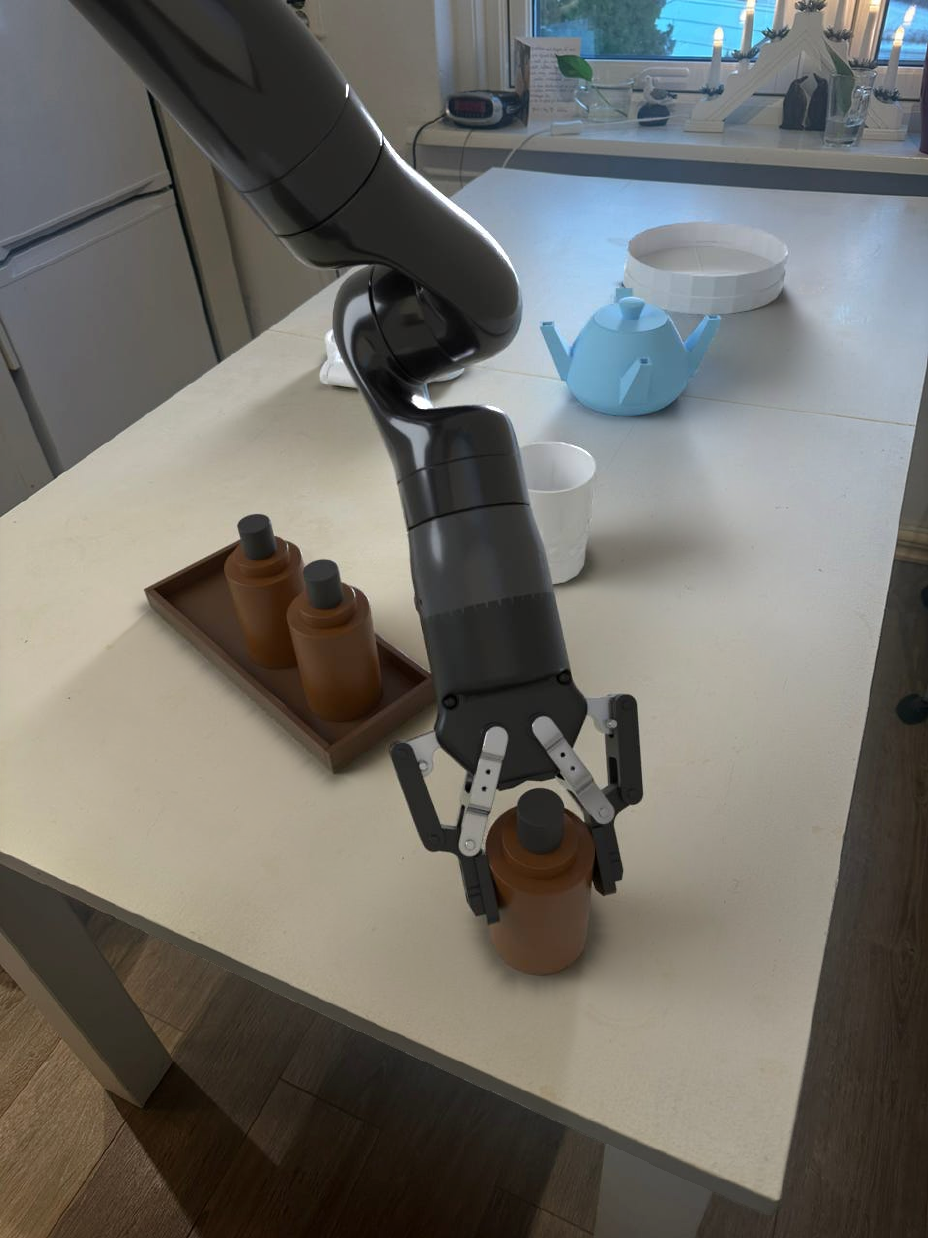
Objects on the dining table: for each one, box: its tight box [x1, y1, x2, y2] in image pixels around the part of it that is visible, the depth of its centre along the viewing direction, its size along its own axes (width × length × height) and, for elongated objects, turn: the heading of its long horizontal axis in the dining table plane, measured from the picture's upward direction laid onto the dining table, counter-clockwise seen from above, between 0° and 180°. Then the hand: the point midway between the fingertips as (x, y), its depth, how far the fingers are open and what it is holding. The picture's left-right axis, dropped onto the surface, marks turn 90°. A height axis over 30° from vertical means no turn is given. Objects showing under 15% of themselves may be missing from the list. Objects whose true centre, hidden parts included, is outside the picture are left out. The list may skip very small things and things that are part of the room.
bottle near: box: [287, 558, 383, 722], centre depth 62 cm, size 6×6×12 cm
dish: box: [623, 221, 789, 316], centre depth 123 cm, size 22×22×5 cm
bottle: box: [484, 787, 595, 976], centre depth 48 cm, size 6×6×12 cm
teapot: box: [539, 287, 723, 417], centre depth 98 cm, size 15×15×11 cm
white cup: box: [519, 441, 598, 585], centre depth 75 cm, size 8×8×10 cm
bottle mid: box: [224, 513, 306, 669], centre depth 67 cm, size 6×6×12 cm
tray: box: [143, 538, 437, 775], centre depth 70 cm, size 26×10×2 cm, turn 44°
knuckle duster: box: [319, 328, 465, 389], centre depth 107 cm, size 3×18×15 cm
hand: (549, 904), depth 47 cm, fingers closed on bottle, 6 cm apart
